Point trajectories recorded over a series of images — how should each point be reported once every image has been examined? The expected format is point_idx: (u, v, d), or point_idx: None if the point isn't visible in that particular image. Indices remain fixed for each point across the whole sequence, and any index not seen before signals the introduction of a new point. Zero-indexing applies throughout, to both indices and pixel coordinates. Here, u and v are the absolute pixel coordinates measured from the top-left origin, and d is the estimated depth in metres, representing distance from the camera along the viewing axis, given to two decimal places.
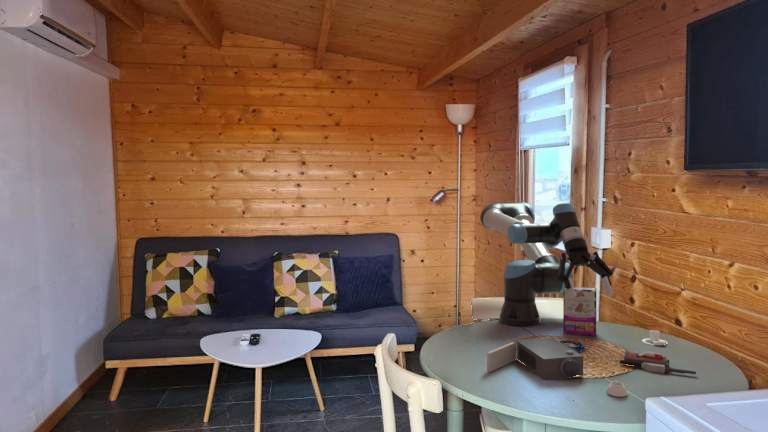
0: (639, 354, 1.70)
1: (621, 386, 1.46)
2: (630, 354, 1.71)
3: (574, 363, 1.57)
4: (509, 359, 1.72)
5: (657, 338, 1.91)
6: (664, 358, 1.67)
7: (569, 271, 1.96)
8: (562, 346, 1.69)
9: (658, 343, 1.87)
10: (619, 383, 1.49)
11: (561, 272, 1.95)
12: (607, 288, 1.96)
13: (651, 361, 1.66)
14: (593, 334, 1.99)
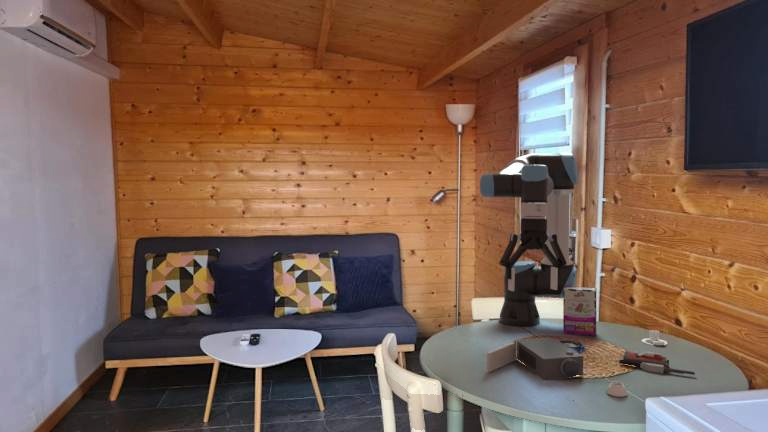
0: (638, 354, 1.70)
1: (621, 386, 1.46)
2: (630, 354, 1.71)
3: (574, 363, 1.57)
4: (509, 359, 1.72)
5: (657, 338, 1.91)
6: (664, 358, 1.67)
7: (515, 259, 1.64)
8: (562, 346, 1.69)
9: (658, 343, 1.87)
10: (619, 383, 1.49)
11: (505, 260, 1.63)
12: (553, 280, 1.68)
13: (650, 361, 1.66)
14: (593, 334, 1.99)
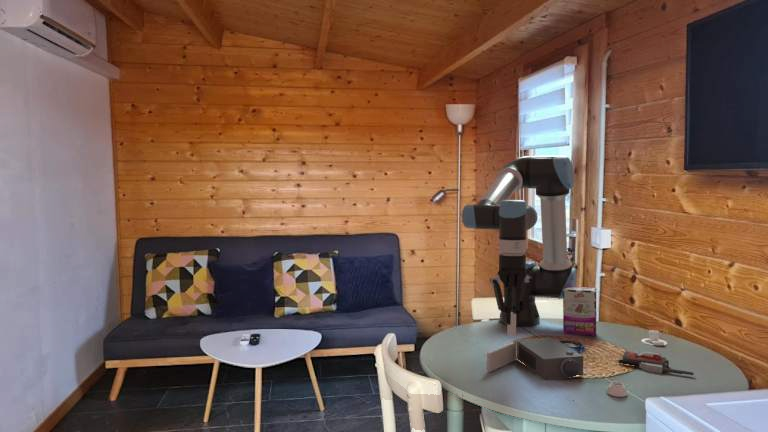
0: (638, 354, 1.70)
1: (621, 386, 1.46)
2: (629, 354, 1.71)
3: (574, 363, 1.57)
4: (509, 359, 1.72)
5: (656, 338, 1.91)
6: (663, 358, 1.67)
7: (509, 303, 1.62)
8: (562, 346, 1.69)
9: (657, 343, 1.87)
10: (619, 383, 1.48)
11: (502, 306, 1.61)
12: None
13: (649, 361, 1.66)
14: (593, 334, 1.99)
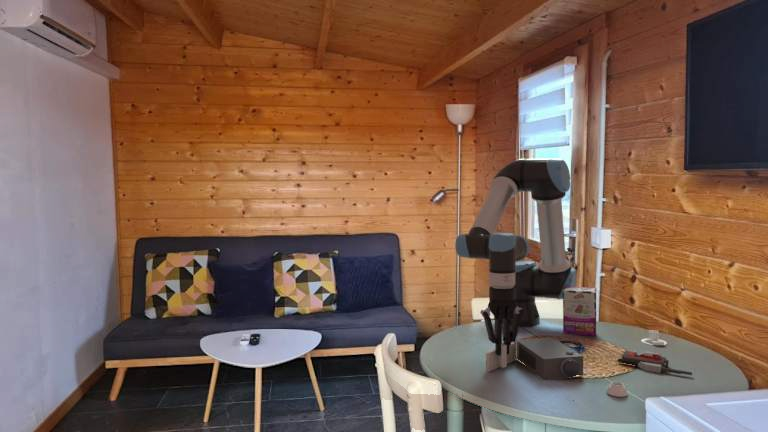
0: (638, 353, 1.70)
1: (621, 386, 1.46)
2: (629, 353, 1.72)
3: (574, 363, 1.57)
4: (509, 359, 1.72)
5: (656, 338, 1.91)
6: (662, 358, 1.67)
7: (499, 334, 1.64)
8: (562, 346, 1.69)
9: (657, 343, 1.87)
10: (619, 383, 1.48)
11: (492, 338, 1.64)
12: None
13: (648, 361, 1.66)
14: (593, 334, 1.99)
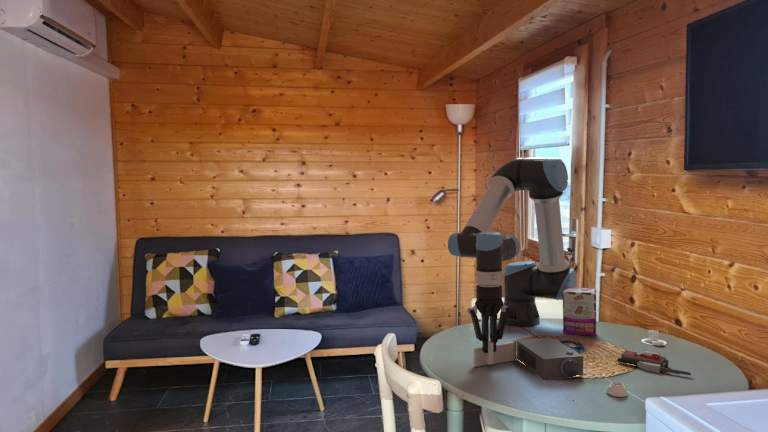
0: (637, 353, 1.71)
1: (621, 386, 1.46)
2: (629, 353, 1.72)
3: (574, 363, 1.57)
4: (506, 358, 1.73)
5: (656, 338, 1.91)
6: (662, 358, 1.67)
7: (486, 332, 1.67)
8: (562, 346, 1.69)
9: (657, 343, 1.87)
10: (619, 383, 1.48)
11: (479, 335, 1.66)
12: None
13: (647, 360, 1.66)
14: (593, 334, 1.99)
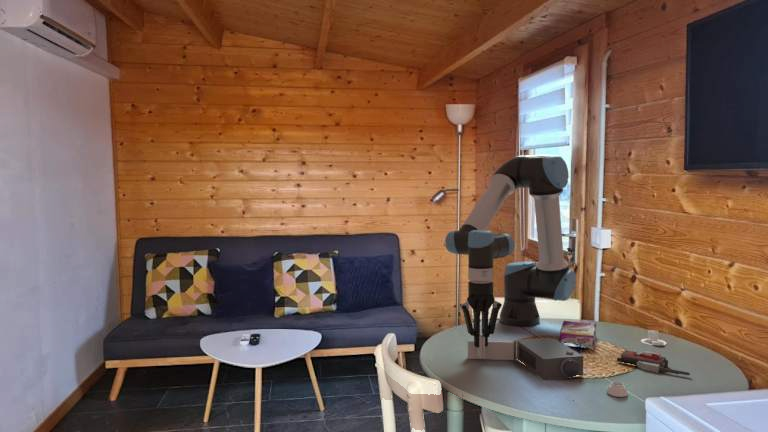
0: (637, 353, 1.71)
1: (621, 386, 1.46)
2: (628, 352, 1.72)
3: (574, 363, 1.57)
4: (503, 356, 1.75)
5: (656, 338, 1.91)
6: (662, 358, 1.67)
7: (478, 327, 1.72)
8: (562, 346, 1.69)
9: (657, 343, 1.87)
10: (619, 383, 1.48)
11: (471, 330, 1.72)
12: None
13: (647, 360, 1.66)
14: None
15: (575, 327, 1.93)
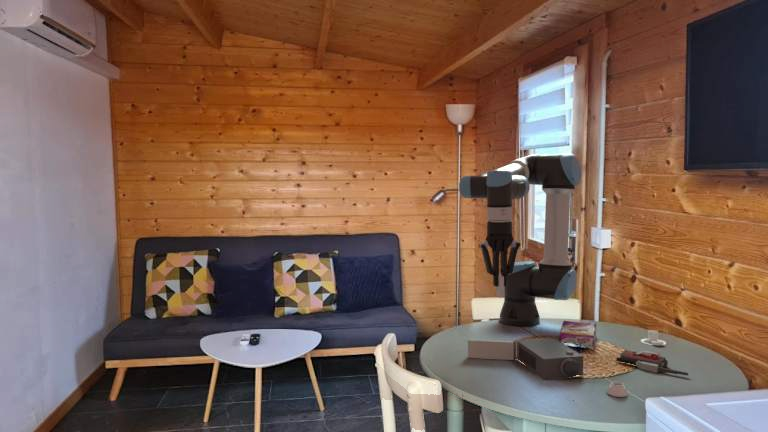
0: (637, 353, 1.71)
1: (621, 386, 1.46)
2: (628, 352, 1.72)
3: (574, 363, 1.57)
4: (503, 355, 1.75)
5: (656, 338, 1.91)
6: (661, 358, 1.67)
7: (497, 266, 1.73)
8: (562, 346, 1.69)
9: (656, 343, 1.87)
10: (620, 383, 1.48)
11: (490, 269, 1.73)
12: None
13: (646, 360, 1.67)
14: None
15: (575, 327, 1.93)
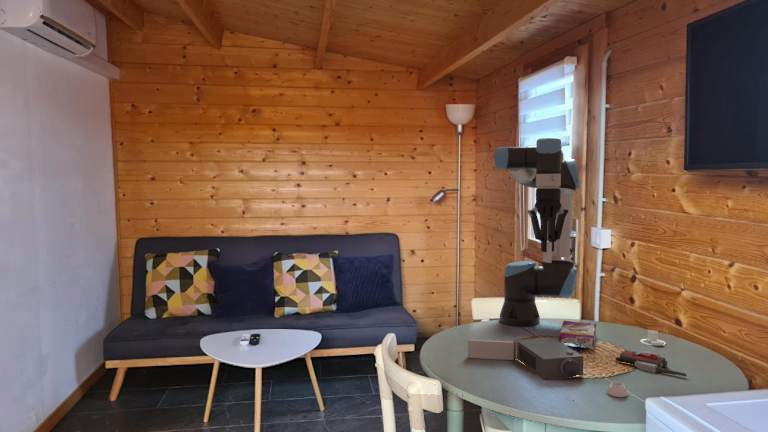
0: (636, 353, 1.71)
1: (622, 386, 1.46)
2: (628, 352, 1.73)
3: (574, 363, 1.57)
4: (503, 355, 1.75)
5: (655, 338, 1.90)
6: (660, 358, 1.67)
7: (545, 232, 1.77)
8: (562, 346, 1.69)
9: (656, 343, 1.87)
10: (620, 383, 1.48)
11: (539, 235, 1.77)
12: None
13: (645, 360, 1.67)
14: None
15: (575, 327, 1.93)
